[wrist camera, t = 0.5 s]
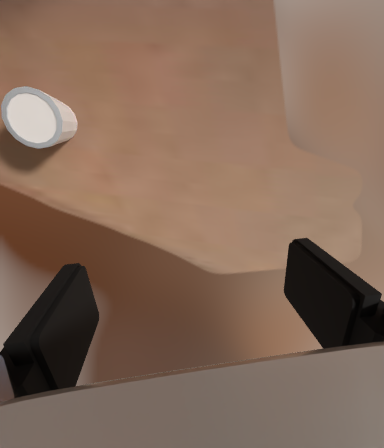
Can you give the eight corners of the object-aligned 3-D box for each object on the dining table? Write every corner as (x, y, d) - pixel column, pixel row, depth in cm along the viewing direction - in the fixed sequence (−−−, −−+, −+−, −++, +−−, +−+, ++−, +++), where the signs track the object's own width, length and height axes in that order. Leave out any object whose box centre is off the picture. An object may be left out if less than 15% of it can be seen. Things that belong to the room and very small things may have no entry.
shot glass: (22, 119, 33) (-13, 116, 27) (51, 84, 32) (22, 71, 25) (63, 155, 35) (40, 160, 29) (91, 123, 34) (74, 121, 28)
